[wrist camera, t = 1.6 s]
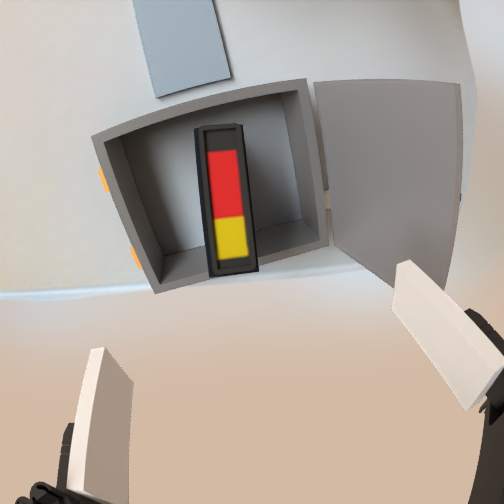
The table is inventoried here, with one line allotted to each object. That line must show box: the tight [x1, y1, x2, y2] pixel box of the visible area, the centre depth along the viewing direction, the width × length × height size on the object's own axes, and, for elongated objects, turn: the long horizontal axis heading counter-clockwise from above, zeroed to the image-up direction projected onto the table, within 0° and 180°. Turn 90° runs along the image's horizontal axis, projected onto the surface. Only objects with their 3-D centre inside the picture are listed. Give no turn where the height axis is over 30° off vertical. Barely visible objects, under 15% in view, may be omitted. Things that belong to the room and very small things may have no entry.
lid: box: [313, 79, 463, 291], centre depth 21 cm, size 17×14×1 cm
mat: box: [133, 0, 231, 98], centre depth 22 cm, size 15×8×1 cm, turn 12°
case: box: [91, 78, 331, 294], centre depth 25 cm, size 18×25×16 cm
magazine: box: [194, 123, 259, 278], centre depth 27 cm, size 4×13×15 cm, turn 2°
